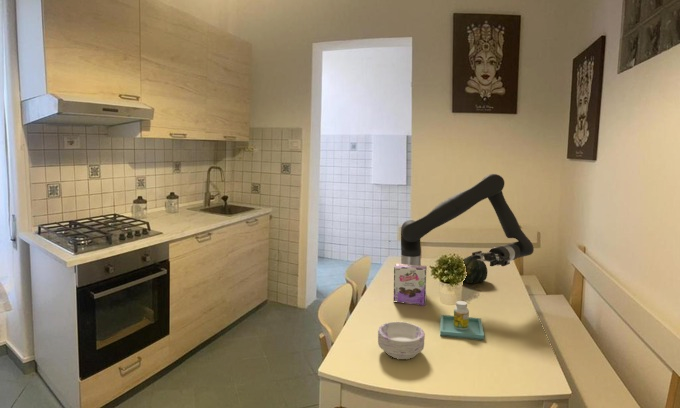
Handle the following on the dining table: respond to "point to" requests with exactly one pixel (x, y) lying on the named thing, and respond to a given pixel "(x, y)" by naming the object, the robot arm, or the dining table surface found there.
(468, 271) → the squash
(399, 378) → the dining table surface
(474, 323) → the teal tray
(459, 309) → the supplement bottle
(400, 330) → the paper bowls
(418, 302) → the candy box
